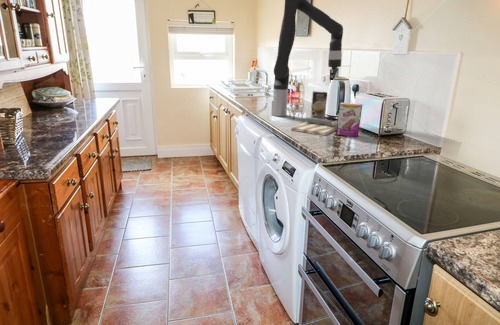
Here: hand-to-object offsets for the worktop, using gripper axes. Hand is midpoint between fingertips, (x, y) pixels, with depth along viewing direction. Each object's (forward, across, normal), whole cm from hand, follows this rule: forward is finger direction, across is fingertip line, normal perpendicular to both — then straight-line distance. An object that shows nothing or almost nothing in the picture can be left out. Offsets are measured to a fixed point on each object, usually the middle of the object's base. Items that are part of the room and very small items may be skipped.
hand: (333, 86), depth 211 cm
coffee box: (+21, -5, -11) cm, 24 cm away
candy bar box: (+22, +38, +16) cm, 46 cm away
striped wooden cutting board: (+21, +31, -2) cm, 37 cm away
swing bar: (+18, +26, -1) cm, 32 cm away
